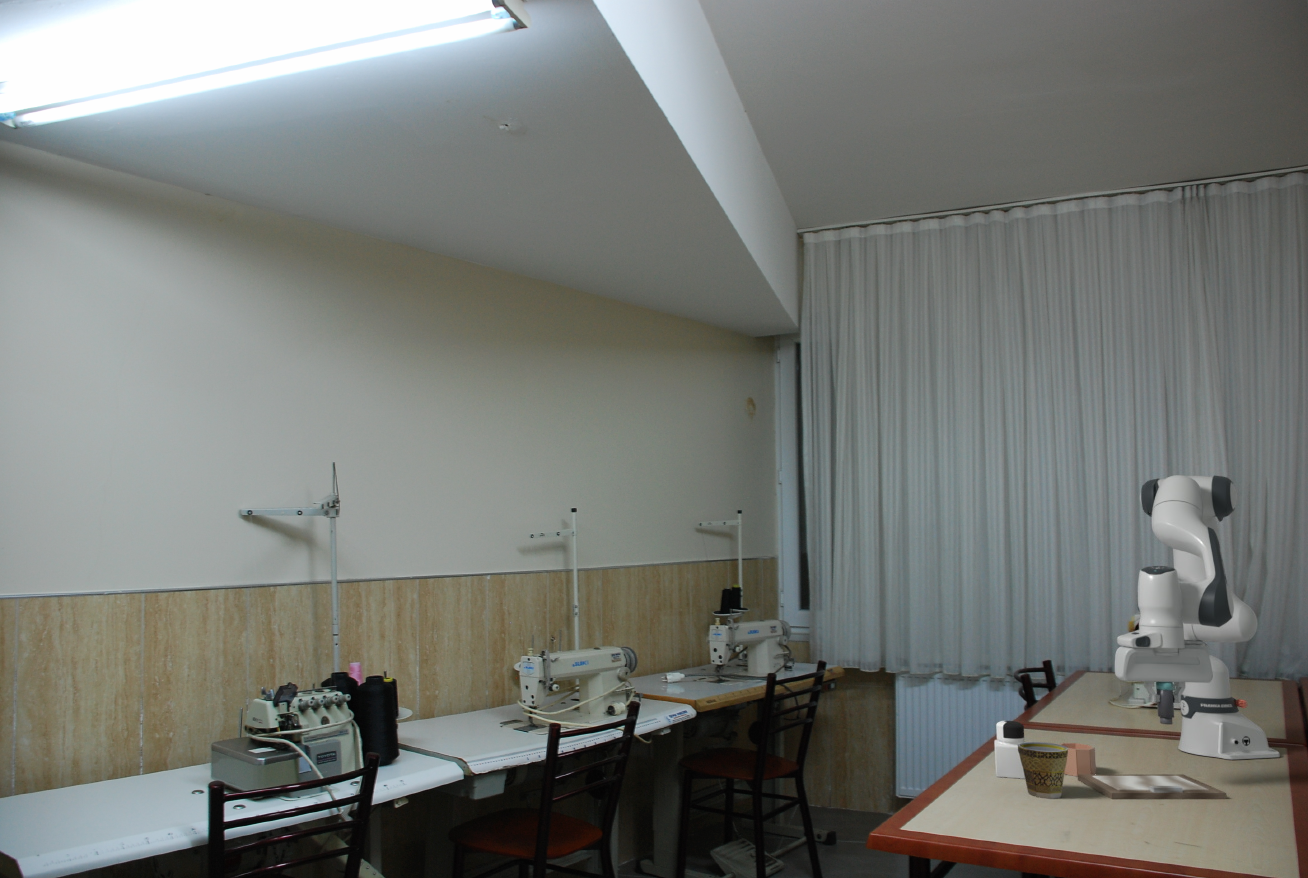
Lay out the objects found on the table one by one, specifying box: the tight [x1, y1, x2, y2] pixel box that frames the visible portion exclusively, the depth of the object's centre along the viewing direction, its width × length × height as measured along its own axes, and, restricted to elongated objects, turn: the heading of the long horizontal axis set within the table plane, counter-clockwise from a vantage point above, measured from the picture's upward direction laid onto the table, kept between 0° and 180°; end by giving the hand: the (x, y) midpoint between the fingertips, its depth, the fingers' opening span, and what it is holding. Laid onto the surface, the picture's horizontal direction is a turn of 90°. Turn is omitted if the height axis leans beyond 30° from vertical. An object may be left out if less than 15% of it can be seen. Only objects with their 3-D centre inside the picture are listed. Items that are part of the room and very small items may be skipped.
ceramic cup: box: [1018, 741, 1068, 800], centre depth 200 cm, size 13×10×10 cm
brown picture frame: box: [1077, 773, 1227, 800], centre depth 202 cm, size 24×16×2 cm, turn 90°
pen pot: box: [1058, 742, 1097, 777], centre depth 218 cm, size 8×8×6 cm
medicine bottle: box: [994, 720, 1026, 780], centre depth 216 cm, size 7×7×12 cm
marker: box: [1155, 682, 1175, 725], centre depth 206 cm, size 3×3×9 cm
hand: (1165, 702), depth 206 cm, fingers closed on marker, 3 cm apart
